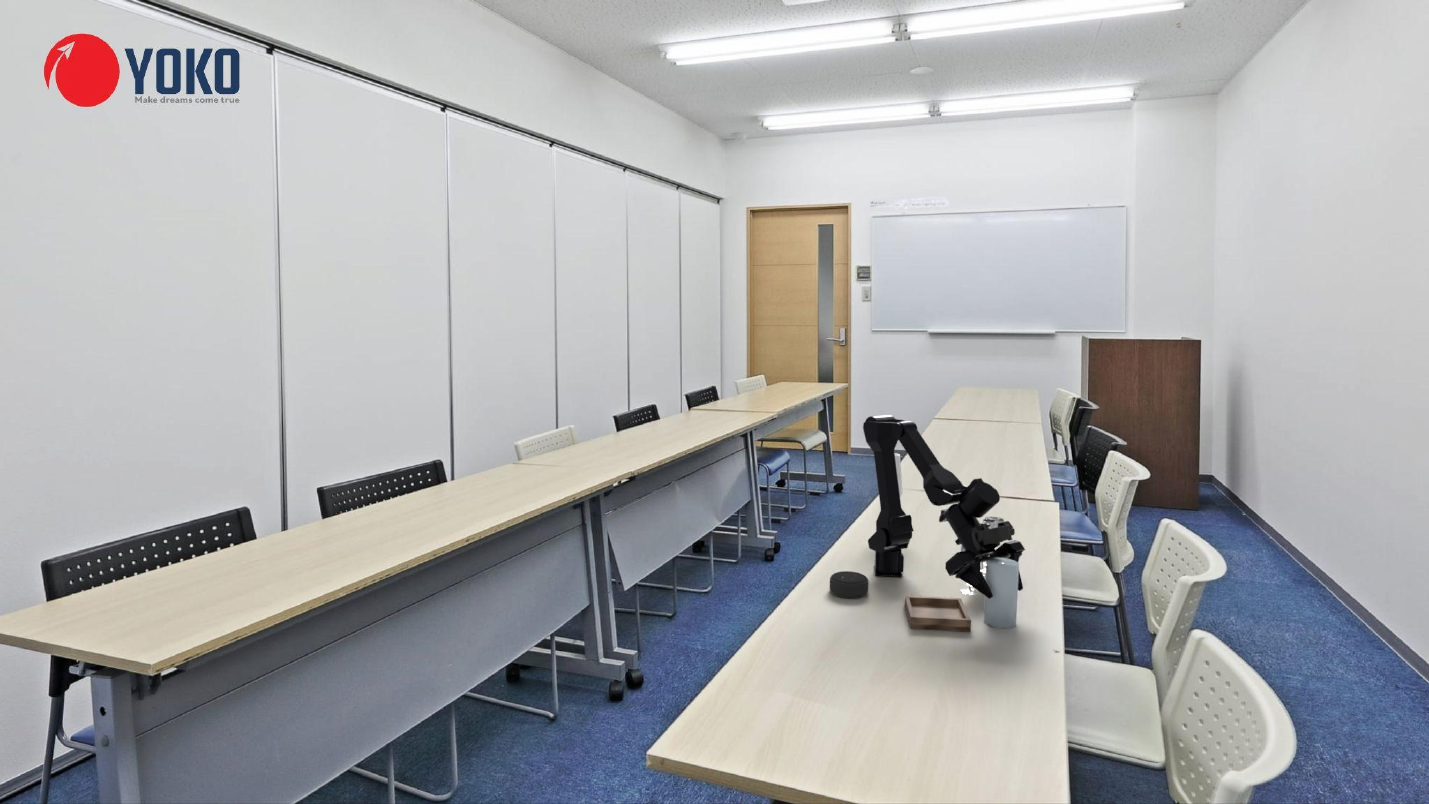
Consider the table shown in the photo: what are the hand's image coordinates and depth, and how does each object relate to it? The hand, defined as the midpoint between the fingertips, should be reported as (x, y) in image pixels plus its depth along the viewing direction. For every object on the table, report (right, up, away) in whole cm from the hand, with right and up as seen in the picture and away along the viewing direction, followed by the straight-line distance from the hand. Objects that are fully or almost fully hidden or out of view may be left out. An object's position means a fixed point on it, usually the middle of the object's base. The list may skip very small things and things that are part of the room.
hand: (1006, 593), depth 161 cm
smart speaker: (-29, -5, +19) cm, 35 cm away
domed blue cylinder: (-1, -7, +2) cm, 7 cm away
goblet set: (+5, -3, +29) cm, 30 cm away
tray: (-13, -6, +4) cm, 15 cm away
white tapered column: (-10, +1, +64) cm, 64 cm away
